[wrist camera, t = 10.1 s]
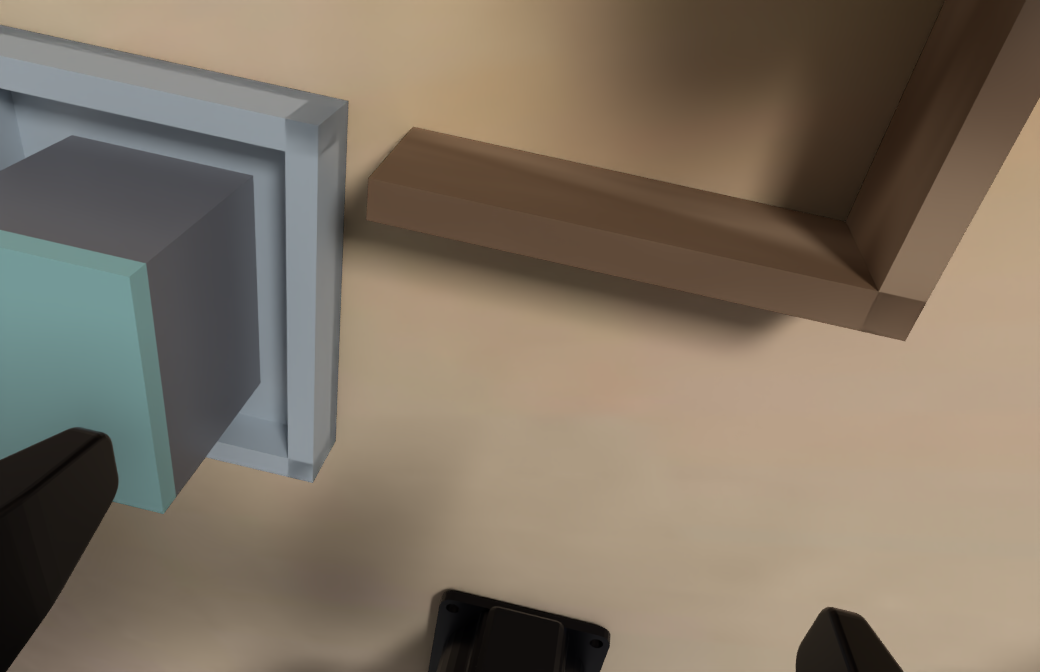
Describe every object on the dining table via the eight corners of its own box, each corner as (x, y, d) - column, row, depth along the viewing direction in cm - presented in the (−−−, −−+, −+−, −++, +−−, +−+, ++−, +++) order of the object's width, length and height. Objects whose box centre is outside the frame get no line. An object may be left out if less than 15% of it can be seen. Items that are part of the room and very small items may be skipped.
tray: (335, 441, 26) (313, 482, 24) (63, 376, 26) (22, 413, 24) (348, 100, 19) (318, 125, 17) (-15, 21, 19) (-78, 38, 18)
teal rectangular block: (260, 383, 24) (163, 513, 19) (108, 347, 24) (-24, 468, 19) (253, 175, 20) (129, 277, 15) (72, 135, 20) (-105, 223, 16)
